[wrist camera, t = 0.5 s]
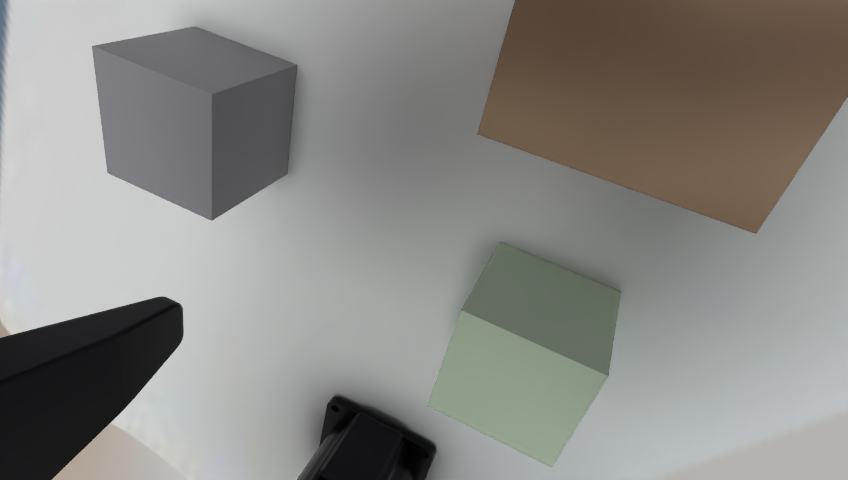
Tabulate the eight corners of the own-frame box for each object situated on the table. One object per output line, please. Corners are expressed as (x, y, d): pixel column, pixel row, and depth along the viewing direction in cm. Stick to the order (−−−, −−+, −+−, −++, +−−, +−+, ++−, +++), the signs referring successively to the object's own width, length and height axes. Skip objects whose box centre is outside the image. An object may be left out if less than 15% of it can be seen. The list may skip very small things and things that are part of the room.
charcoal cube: (288, 173, 24) (211, 220, 20) (197, 135, 25) (107, 172, 21) (298, 64, 22) (211, 94, 18) (196, 26, 23) (92, 46, 18)
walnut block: (740, 178, 18) (755, 233, 14) (510, 100, 19) (477, 134, 16) (914, -108, 13) (993, -122, 10) (595, -177, 15) (573, -208, 12)
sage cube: (572, 376, 24) (551, 467, 20) (467, 328, 25) (427, 405, 21) (620, 290, 21) (608, 375, 17) (500, 240, 22) (461, 310, 18)
